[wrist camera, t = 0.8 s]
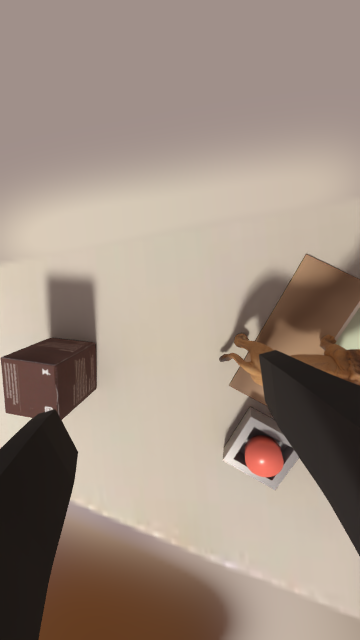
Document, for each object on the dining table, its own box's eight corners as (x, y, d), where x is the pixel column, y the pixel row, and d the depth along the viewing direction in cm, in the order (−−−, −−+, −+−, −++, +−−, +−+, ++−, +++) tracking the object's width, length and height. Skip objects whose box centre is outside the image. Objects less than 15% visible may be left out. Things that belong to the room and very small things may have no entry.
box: (51, 335, 32) (-2, 355, 25) (97, 341, 31) (56, 364, 24) (53, 382, 33) (3, 414, 26) (97, 390, 32) (58, 424, 25)
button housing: (302, 434, 28) (306, 447, 26) (272, 475, 30) (274, 490, 28) (250, 406, 29) (250, 416, 27) (223, 448, 30) (222, 460, 28)
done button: (288, 446, 27) (290, 457, 26) (269, 472, 28) (271, 483, 27) (255, 428, 27) (256, 438, 26) (238, 454, 28) (238, 464, 27)
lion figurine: (377, 315, 24) (454, 343, 16) (380, 371, 25) (454, 426, 17) (216, 334, 28) (206, 365, 19) (223, 382, 29) (217, 433, 20)
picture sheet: (502, 346, 23) (503, 347, 23) (390, 472, 27) (391, 473, 27) (306, 254, 25) (306, 254, 25) (229, 385, 29) (229, 385, 29)
